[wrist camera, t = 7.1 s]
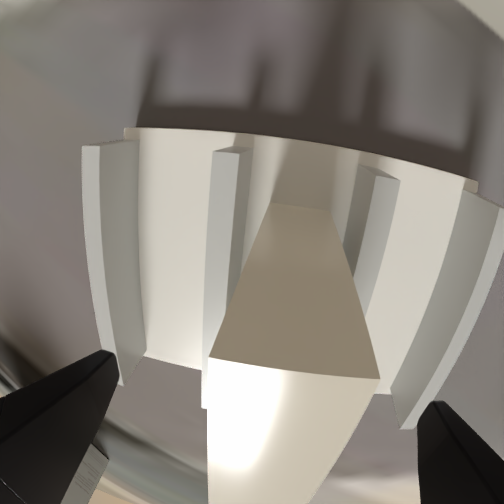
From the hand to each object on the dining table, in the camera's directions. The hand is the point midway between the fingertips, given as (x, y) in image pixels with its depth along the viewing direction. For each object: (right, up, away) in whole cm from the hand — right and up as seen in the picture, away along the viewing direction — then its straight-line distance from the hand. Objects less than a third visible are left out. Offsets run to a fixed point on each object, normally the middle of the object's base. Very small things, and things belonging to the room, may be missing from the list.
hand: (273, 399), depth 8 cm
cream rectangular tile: (+1, +2, +6) cm, 6 cm away
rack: (+1, +3, +7) cm, 8 cm away
